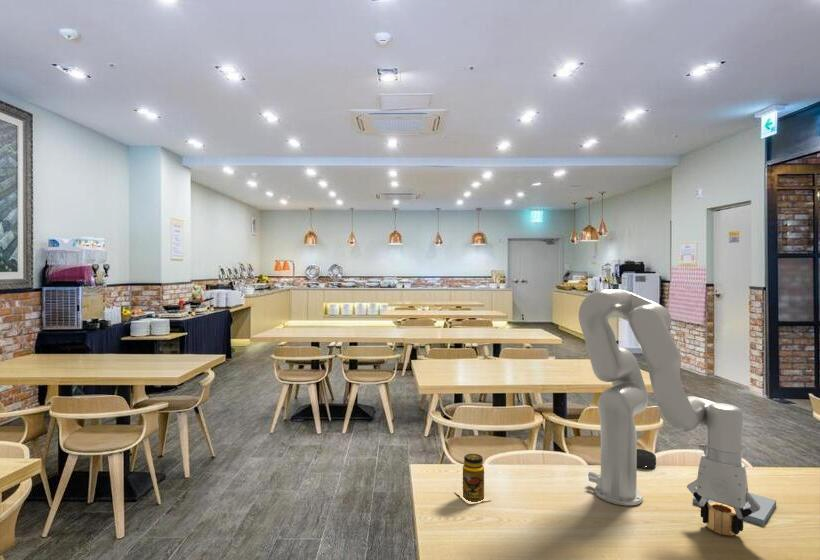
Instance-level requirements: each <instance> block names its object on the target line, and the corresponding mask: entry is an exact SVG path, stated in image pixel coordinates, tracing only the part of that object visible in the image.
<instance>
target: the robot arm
mask: <svg viewBox="0 0 820 560" xmlns="http://www.w3.org/2000/svg"><path fill="white" fill-rule="evenodd" d="M611 318H612V319H613V318H621V319H622V320H624V321H625V322H626V321H627V322H628V325H629V327H630V329H631V332H632V333H633V335H634V337H635V340H636V342H637V344H638V346H639V347H640V350H641V353H642V355H643V357H644V359H645V362H646V364H647V367H648V374H649V380H650V385H651V386H650V387H651V389H652V393H653V396H654V399H655V401H656V403H657V405H658V408H659V410H660V412H661V414H662V415H663V418H664V419H665V421H666V422H667V424H669V426H670V427H671V428H673V429H674V430H676V431H679V432H683V433H688V432H692V431H694V430H695V429H697V428H699V427H704V428H705V443H704V444H701V443H699V445H698V449H699V450H700V451H702V452H703V453H704V454H702V455H701V456H700V460H699V464H698V470H697V476H696V478H697V479H695V480H693V481H691V482H689V483H688V484H687V485H686V488H687V490H688V491H689V492H690V493H691V494H692V496H693V498H694V497H695V498H696V500H697V501H698V502H699V505H700V506H699V505H698V506H699V507H700V517H701V518H702V523H703V524H706V523H707V504H708V500H709V499H710V500H713V501H716V502H719V503H722V504H725V505H728V506H731V507H734V510H735V513H736V517H735V518H734V533H735V535H736V536H737V535H739V533H741V532H743V530H744V520H743V518H744V517H746V516H748V515H750V514H752V513H755V512H757V511H759V510H760V508H761V507H760V505H759V504H758V503H757V502H756V501H755V499H754V498H753V497H752V496H751V495H750V494H749V493H750V492H749V484H748V475H747V470H746V469H747V468H746V465H745V463H744V462H742V458H743V455H742V454H743V424H744V419H743V418H744V416H743V415H744V414H743V411H742V409H740V408H739V407H738V406H736V405H733V404H729V403H722V402H721V403H720V402H714V401H711V400H708V399H705V398H702V397H699V396H693V395H689V396H687V393H686V392H685V389H684V386H683V384H682V379H681V375H680V373H681V367H682V354H681V351H680V350H679V348H678V346H677V343H676V341H674V338H673V336H672V334H671V332H670V330H669V328H670V326H671V325H672V316H671V313H670V311H669V310H668V309H667V308H666V307H665V306H664V305H661V304H659V303H657V302H654V301H652V300H649V299H647V298H646V297H645V298H644V297H642V296H640V295H637V294H635V293H633V292H630V291H627V290H624V289H617V288H615V289H614V288H612V289H611V288H610V289H608V288H603V289H598V290H595V291H593V292H591V293H590V294H588V295H587V296H585V298H584V299H583V301H582V302H581V303H580V306H579V309H578V322H579V326H580V329H581V332H582V335H583V338H584V339H583V340H584V341H585V346H586V350H587V354H588V357H589V360H590V364H591V368H592V371H593V374H594V376H595V377H596V379H597V380H599V381H601V382H603V383H611V384H612V386H611V387H608V388H606V389H605V390H603V391H602V392H601V394H600V395H599V397H598V400H597V410H598V416H599V426H600V474H599V473H596V472H593V471H589V472H588V475H587V477H588V481H589V482H592V483H595V484H596V486H595V488H594V494H595V495H596V496H597V498H600V499H601V500H603V501H605V502H608V503H611V504H614V505H619V506H628V507H629V506H637V505H640V504H641V503H643V500H644V497H643V493H641V491H640V490H638V489H637V487H638V486H637V481H638V480H637V478H638V477H637V475H638V474H637V472H638V471H637V468H638V467H637V449H638V447H637V445H638V444H637V441H638V440H637V438H638V437H637V429H636V425H635V416H637V415H639V414H640V413H642V412H643V411H645V409H646V408H647V407H648V403H649V396H648V391H647V388H646V385H645V382H644V379H643V374H642V371H641V368H640V365H639V362H638V360H637V358H636V356H635V355H634V354H633V352H631V351H630V350H628V349H627V348H625V347H619V344H618V343H617V339H616V335H615V332H614V330H613V328H612V326H611V325H610V323H609V319H611ZM747 502H748V503H749V504H750V505H751V506H750V507H748V508H746V509H744V508H743V507H744V506H745V503H747Z"/></svg>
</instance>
